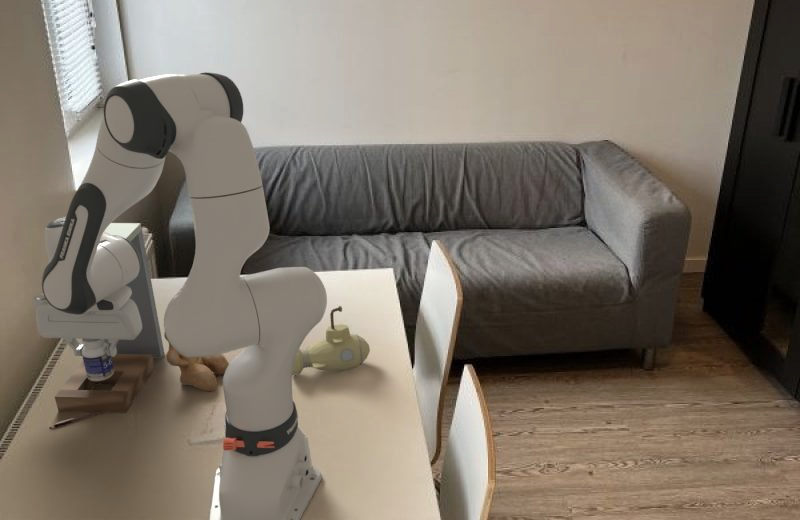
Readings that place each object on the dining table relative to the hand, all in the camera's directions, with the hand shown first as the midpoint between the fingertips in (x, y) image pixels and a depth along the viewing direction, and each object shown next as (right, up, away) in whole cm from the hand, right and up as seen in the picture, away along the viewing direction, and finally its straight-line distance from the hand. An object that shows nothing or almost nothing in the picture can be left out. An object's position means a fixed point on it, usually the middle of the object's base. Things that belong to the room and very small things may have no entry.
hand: (96, 354), depth 156 cm
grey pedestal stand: (+1, -4, +14) cm, 14 cm away
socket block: (0, -8, +6) cm, 10 cm away
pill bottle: (0, -4, +2) cm, 5 cm away
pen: (-2, -13, -3) cm, 13 cm away
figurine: (+19, -6, +8) cm, 21 cm away
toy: (+46, -5, +10) cm, 48 cm away
